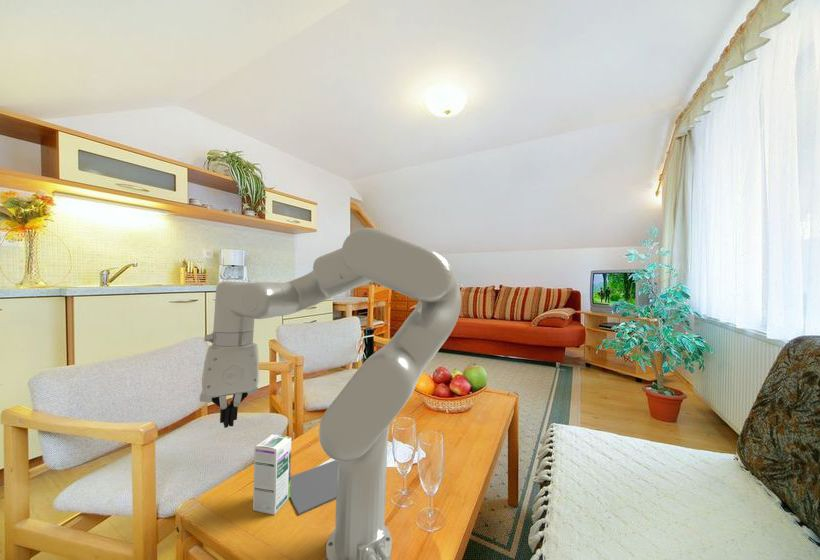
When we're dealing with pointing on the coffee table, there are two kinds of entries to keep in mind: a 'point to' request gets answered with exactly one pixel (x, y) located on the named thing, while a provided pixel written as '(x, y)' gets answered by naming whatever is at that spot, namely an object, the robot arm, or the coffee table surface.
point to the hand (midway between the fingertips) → (228, 424)
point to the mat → (314, 487)
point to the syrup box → (272, 474)
